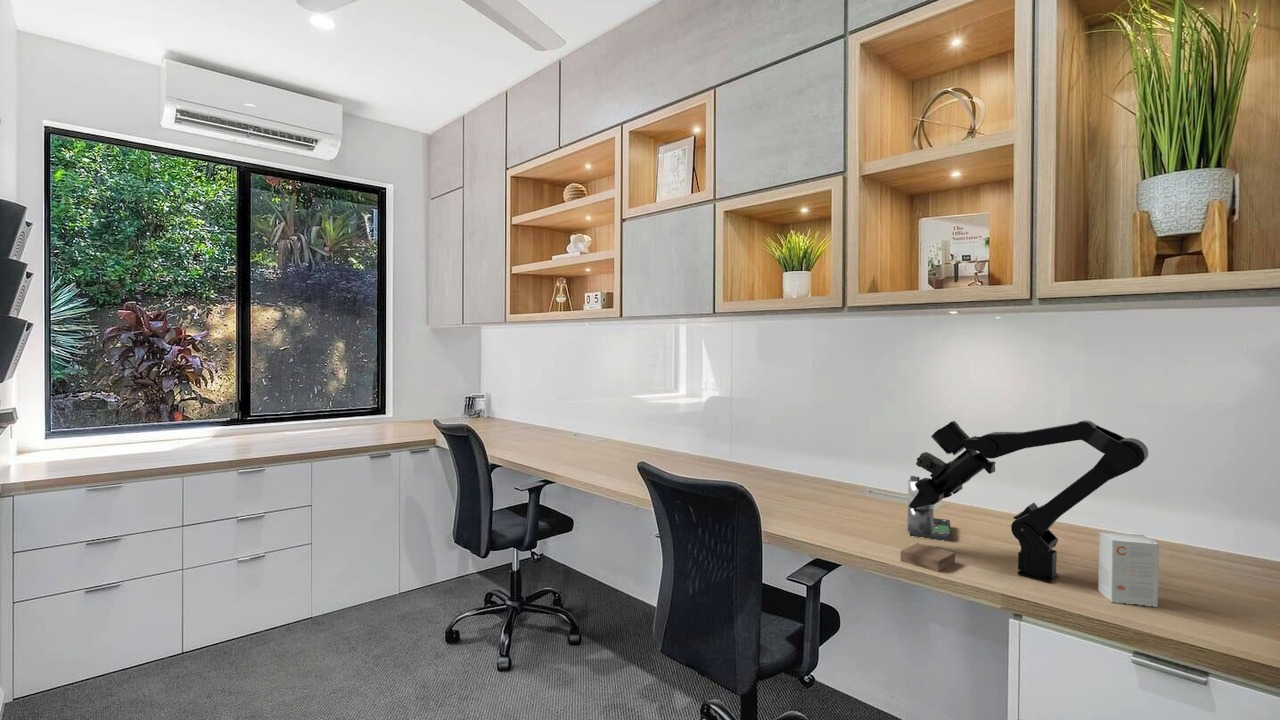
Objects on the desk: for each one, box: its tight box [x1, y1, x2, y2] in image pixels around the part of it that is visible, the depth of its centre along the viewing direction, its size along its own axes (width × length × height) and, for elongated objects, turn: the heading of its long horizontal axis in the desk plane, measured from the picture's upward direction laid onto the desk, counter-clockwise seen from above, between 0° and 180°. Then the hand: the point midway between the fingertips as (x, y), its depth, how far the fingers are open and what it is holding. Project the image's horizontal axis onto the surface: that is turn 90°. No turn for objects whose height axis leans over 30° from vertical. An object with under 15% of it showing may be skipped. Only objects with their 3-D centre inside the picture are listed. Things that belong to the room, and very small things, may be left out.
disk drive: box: [908, 517, 952, 542], centre depth 168 cm, size 10×3×15 cm
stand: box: [900, 542, 956, 573], centre depth 144 cm, size 9×9×2 cm
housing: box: [907, 475, 935, 535], centre depth 154 cm, size 6×6×14 cm
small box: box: [1097, 531, 1160, 608], centre depth 124 cm, size 8×6×13 cm
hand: (915, 504), depth 155 cm, fingers closed on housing, 6 cm apart
